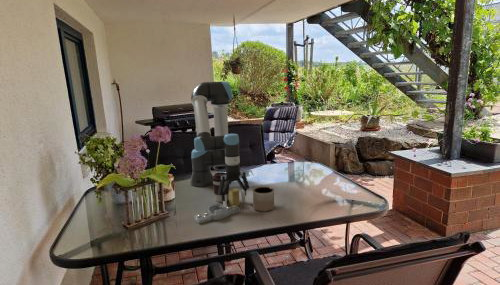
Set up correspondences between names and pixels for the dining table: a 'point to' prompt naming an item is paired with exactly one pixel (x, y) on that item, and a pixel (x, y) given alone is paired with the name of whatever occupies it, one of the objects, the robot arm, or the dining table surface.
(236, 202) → the link peg
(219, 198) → the coffee cup
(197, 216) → the chain end
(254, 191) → the planter
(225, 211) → the chain end
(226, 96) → the robot arm
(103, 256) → the dining table surface
